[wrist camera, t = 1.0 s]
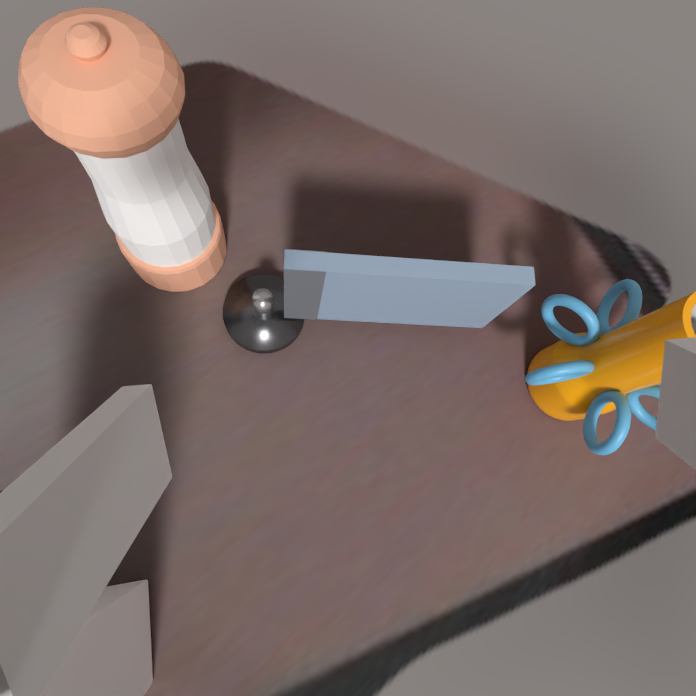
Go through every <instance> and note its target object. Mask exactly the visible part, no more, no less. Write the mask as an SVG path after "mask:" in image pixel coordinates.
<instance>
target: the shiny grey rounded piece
mask: <svg viewBox="0 0 696 696" xmlns="http://www.w3.org/2000/svg"><path fill="white" fill-rule="evenodd" d="M223 319H224V323H225V326H226V328H227V331H228V333H229V334H230V336H231V337H232V339H233V340H234V341H235V342H236V343H237V344H238V345H240V346H241V347H243V348H245V349H247V350H249V351H252V352H256V353H272V352H276V351H279V350H282V349H284V348H285V347H287V346H289V345H290V344H291V343H292V342H293V341H294V340H295V339H296V338H297V337H298V335H299V333H300V332H301V329H302V327H303V323H304V319H296V318H284V279H283V278H281V277H278V276H275V275H269V274H259V275H253V276H250V277H247V278H245V279H243V280H241V281H240V282H238V283H237V284H236V285H235V286H234V287H233V288H232V289H231V290H230V292H229V293H228V295H227V297H226V299H225V302H224V306H223Z"/></svg>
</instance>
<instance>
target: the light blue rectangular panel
mask: <svg viewBox="0 0 696 696" xmlns="http://www.w3.org/2000/svg"><path fill="white" fill-rule="evenodd" d="M534 286H535V275H534V267H528V266H513V265H499V264H484V263H470V262H456V261H441V260H427V259H413V258H398V257H384V256H369V255H355V254H341V253H327V252H323V251H309V250H295V249H285V257H284V318H296V319H314V320H317V319H326V320H344V321H363V322H381V323H399V324H418V325H436V326H454V327H473V328H483V327H484V326H485V325H486V324H488V323H489V322H490V321H491V320H493V319H494V318H495V317H496V316H498V315H499V314H500V313H501V312H503V311H504V310H505V309H506V308H508V307H509V306H510V305H511V304H513V303H514V302H515V301H516V300H518V299H519V298H520V297H521V296H523V295H524V294H525V293H526V292H528V291H529V290H530V289H531V288H533V287H534Z"/></svg>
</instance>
